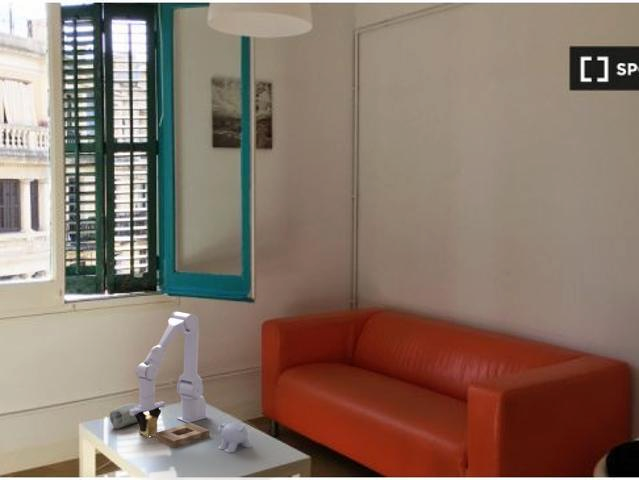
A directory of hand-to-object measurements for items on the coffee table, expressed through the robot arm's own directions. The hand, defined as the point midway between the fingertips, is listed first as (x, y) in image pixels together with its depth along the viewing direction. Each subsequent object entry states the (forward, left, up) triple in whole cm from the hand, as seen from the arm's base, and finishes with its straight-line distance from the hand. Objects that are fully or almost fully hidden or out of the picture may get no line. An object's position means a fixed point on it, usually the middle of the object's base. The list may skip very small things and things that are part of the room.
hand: (147, 429), depth 290 cm
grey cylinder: (0, -15, -2) cm, 15 cm away
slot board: (-7, +12, -2) cm, 14 cm away
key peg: (0, 0, -2) cm, 2 cm away
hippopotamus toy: (-15, +32, -2) cm, 36 cm away
